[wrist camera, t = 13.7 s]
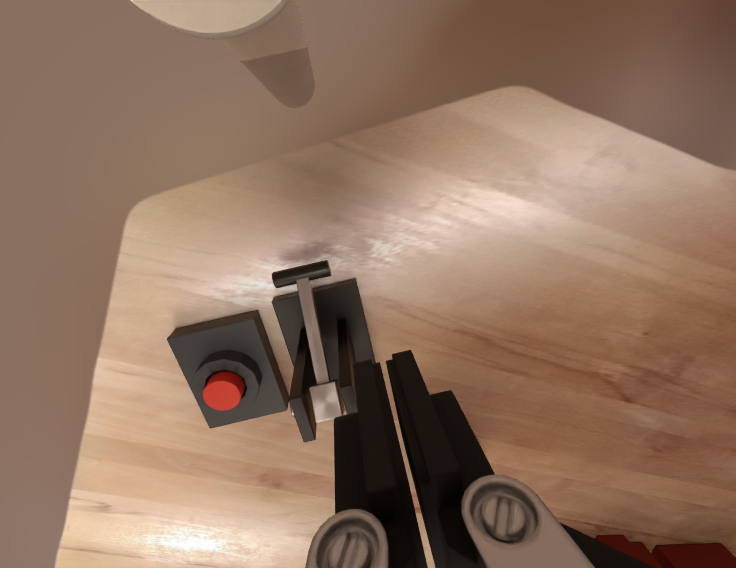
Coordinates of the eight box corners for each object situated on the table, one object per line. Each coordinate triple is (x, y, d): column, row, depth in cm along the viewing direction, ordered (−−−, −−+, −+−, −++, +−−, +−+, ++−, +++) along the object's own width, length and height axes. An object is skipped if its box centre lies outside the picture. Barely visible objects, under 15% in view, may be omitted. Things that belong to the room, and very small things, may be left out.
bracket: (273, 297, 37) (246, 365, 25) (355, 278, 37) (367, 336, 25) (303, 387, 41) (292, 481, 29) (377, 370, 42) (395, 456, 30)
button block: (175, 328, 37) (158, 348, 33) (257, 309, 37) (249, 326, 34) (215, 415, 42) (204, 441, 38) (289, 397, 42) (285, 421, 38)
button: (203, 375, 35) (197, 385, 34) (237, 366, 35) (233, 377, 34) (216, 402, 37) (210, 414, 35) (249, 394, 37) (245, 406, 35)
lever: (276, 275, 32) (268, 269, 30) (329, 263, 32) (326, 256, 30) (304, 420, 30) (298, 427, 28) (360, 407, 30) (359, 412, 28)
